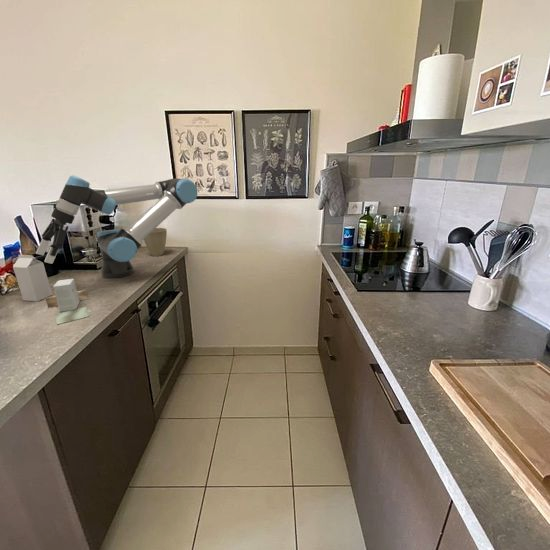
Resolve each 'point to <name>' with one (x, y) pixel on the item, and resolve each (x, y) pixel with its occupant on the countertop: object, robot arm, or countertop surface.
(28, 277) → the milk carton
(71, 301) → the small box
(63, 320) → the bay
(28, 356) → the countertop surface
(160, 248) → the plant pot
